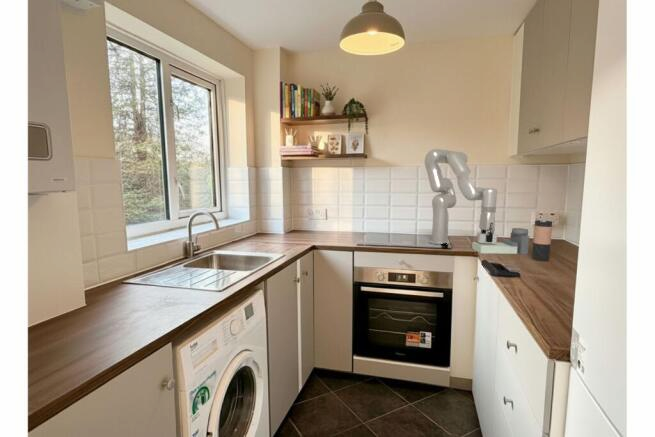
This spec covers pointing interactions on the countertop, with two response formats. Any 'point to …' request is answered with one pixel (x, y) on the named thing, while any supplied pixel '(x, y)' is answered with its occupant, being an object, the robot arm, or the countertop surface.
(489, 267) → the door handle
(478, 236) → the lock block
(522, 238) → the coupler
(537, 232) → the travel mug
